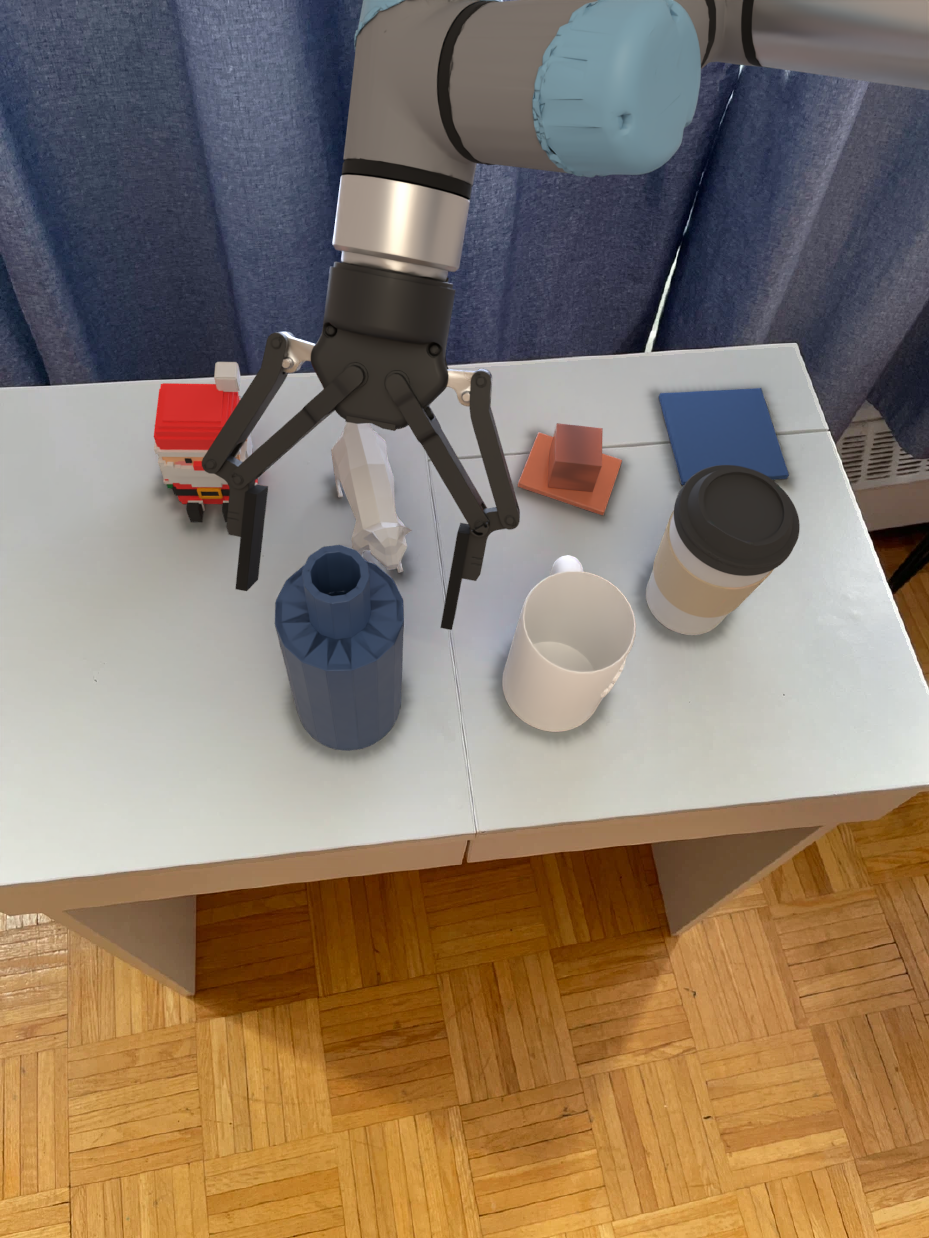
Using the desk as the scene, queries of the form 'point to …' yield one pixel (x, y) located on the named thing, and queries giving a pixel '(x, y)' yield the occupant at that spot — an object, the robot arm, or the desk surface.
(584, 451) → the terracotta block
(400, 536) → the cat figurine
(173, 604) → the desk surface
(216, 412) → the figurine
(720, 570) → the coffee cup
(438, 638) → the desk surface
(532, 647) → the mug
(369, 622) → the blue bottle
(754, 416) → the blue mat
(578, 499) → the orange flat plate
